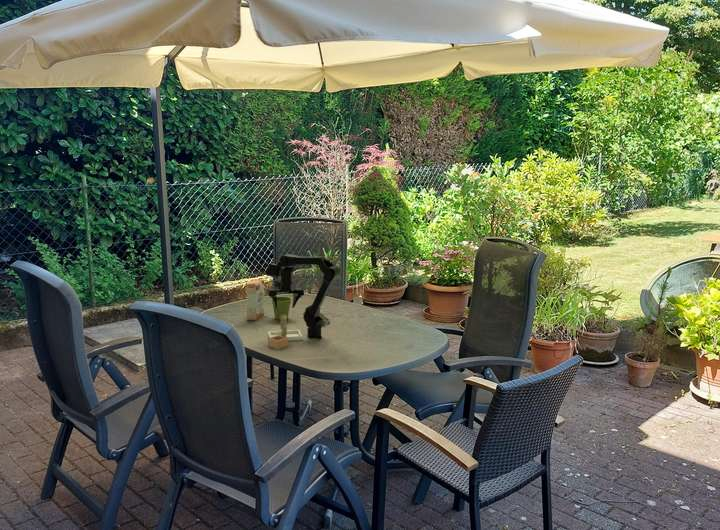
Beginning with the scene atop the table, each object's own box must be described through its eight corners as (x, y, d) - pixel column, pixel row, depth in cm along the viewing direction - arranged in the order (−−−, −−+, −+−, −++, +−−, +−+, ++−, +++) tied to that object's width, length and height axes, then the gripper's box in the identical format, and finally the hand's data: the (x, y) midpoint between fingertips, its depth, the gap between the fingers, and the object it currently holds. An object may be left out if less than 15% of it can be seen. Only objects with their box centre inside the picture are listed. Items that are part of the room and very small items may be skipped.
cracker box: (257, 320, 343) (256, 284, 339) (246, 320, 344) (245, 283, 340) (265, 314, 356) (264, 279, 352) (255, 313, 357) (254, 278, 353)
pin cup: (279, 343, 302) (279, 335, 301) (288, 347, 297) (288, 338, 296) (268, 346, 297) (267, 337, 296) (276, 350, 292) (276, 341, 291)
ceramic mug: (311, 325, 334) (311, 311, 333) (310, 321, 342) (310, 307, 341) (331, 324, 336) (331, 311, 335) (328, 320, 344) (329, 307, 343)
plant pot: (290, 321, 343) (290, 301, 341) (269, 320, 343) (269, 301, 341) (293, 315, 354) (293, 296, 352) (273, 315, 354) (272, 296, 352)
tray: (299, 334, 318) (299, 329, 318) (302, 340, 307) (302, 336, 306) (268, 336, 314) (268, 331, 314) (270, 343, 303) (270, 338, 303)
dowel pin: (287, 337, 310) (287, 314, 307) (285, 339, 307) (285, 316, 304) (281, 337, 310) (281, 314, 308) (279, 338, 307) (279, 315, 305)
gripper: (298, 275, 324) (297, 303, 327) (264, 275, 317) (262, 304, 320) (305, 279, 314) (303, 309, 317) (269, 280, 307) (268, 310, 310)
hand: (284, 308), depth 316 cm, fingers open, 9 cm apart
